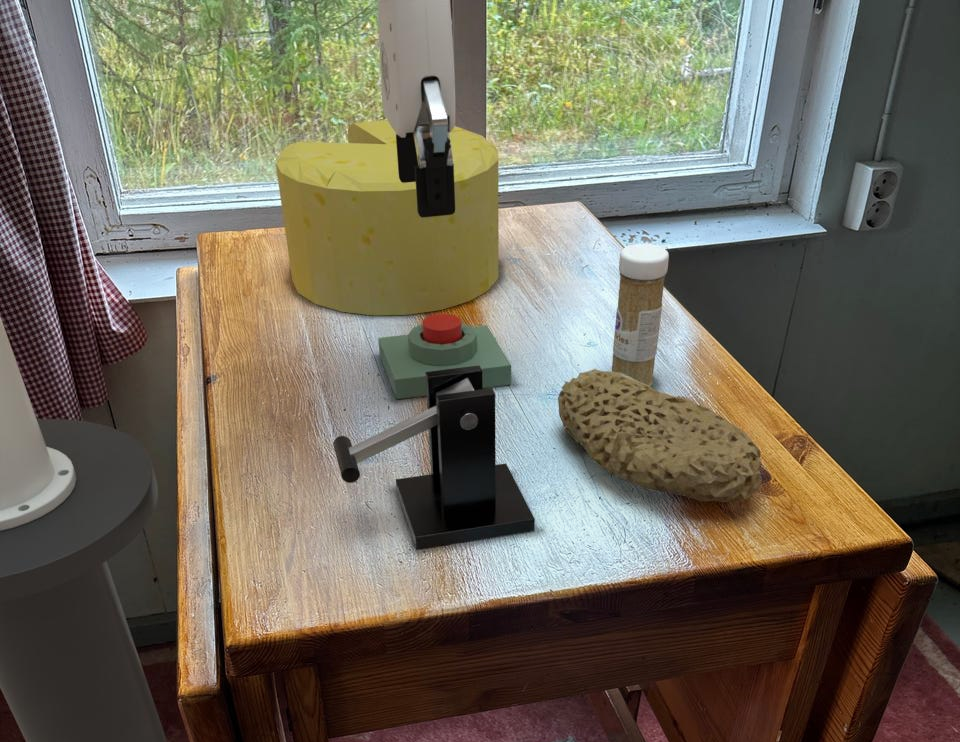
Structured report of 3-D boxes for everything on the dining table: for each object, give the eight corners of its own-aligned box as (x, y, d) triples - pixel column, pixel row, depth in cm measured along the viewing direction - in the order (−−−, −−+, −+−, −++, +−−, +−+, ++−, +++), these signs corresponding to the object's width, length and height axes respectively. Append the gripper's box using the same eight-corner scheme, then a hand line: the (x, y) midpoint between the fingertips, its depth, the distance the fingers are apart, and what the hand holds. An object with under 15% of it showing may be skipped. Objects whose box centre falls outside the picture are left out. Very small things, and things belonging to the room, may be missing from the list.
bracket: (416, 549, 79) (406, 418, 71) (396, 490, 85) (385, 365, 77) (534, 530, 80) (538, 401, 72) (506, 474, 87) (506, 350, 79)
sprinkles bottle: (601, 378, 100) (611, 246, 92) (639, 369, 102) (653, 239, 93) (623, 397, 97) (636, 262, 88) (662, 388, 99) (679, 254, 90)
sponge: (541, 445, 93) (633, 518, 76) (551, 362, 89) (651, 420, 73) (662, 446, 97) (774, 515, 81) (677, 366, 94) (798, 422, 77)
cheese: (290, 244, 131) (273, 121, 121) (481, 231, 134) (480, 110, 124) (294, 323, 112) (273, 185, 102) (516, 306, 114) (518, 170, 104)
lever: (349, 490, 76) (335, 467, 74) (340, 458, 79) (327, 435, 78) (489, 423, 75) (478, 398, 73) (474, 393, 79) (463, 369, 77)
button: (427, 348, 98) (426, 331, 97) (419, 332, 101) (418, 316, 100) (465, 343, 99) (465, 327, 98) (457, 327, 102) (456, 311, 101)
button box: (396, 399, 98) (393, 362, 95) (379, 357, 105) (376, 321, 102) (511, 384, 100) (511, 347, 97) (487, 344, 107) (486, 308, 104)
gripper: (350, -46, 81) (370, 172, 92) (382, -14, 68) (400, 234, 80) (439, -52, 82) (448, 165, 94) (485, -21, 69) (489, 225, 81)
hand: (426, 197), depth 87 cm, fingers open, 9 cm apart
